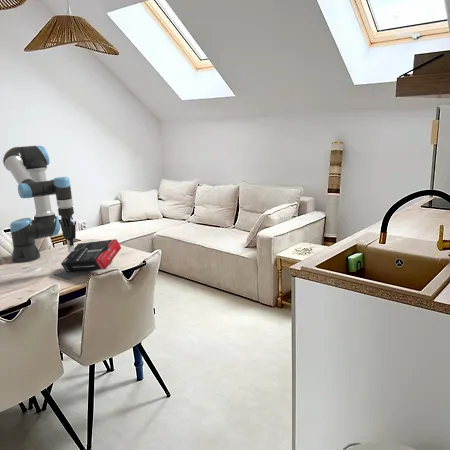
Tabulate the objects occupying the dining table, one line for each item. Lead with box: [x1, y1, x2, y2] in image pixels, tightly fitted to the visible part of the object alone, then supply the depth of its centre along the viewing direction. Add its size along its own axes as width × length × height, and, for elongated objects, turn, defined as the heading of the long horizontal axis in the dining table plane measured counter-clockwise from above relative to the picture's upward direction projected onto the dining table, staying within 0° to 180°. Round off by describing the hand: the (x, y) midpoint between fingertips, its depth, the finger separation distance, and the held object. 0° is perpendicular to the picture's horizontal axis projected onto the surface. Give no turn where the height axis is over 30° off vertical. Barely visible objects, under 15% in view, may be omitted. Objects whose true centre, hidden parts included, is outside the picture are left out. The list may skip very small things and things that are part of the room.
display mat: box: [54, 270, 97, 281], centre depth 223 cm, size 13×21×1 cm, turn 141°
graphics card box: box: [61, 238, 122, 272], centre depth 220 cm, size 17×7×27 cm
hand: (71, 251), depth 223 cm, fingers closed
